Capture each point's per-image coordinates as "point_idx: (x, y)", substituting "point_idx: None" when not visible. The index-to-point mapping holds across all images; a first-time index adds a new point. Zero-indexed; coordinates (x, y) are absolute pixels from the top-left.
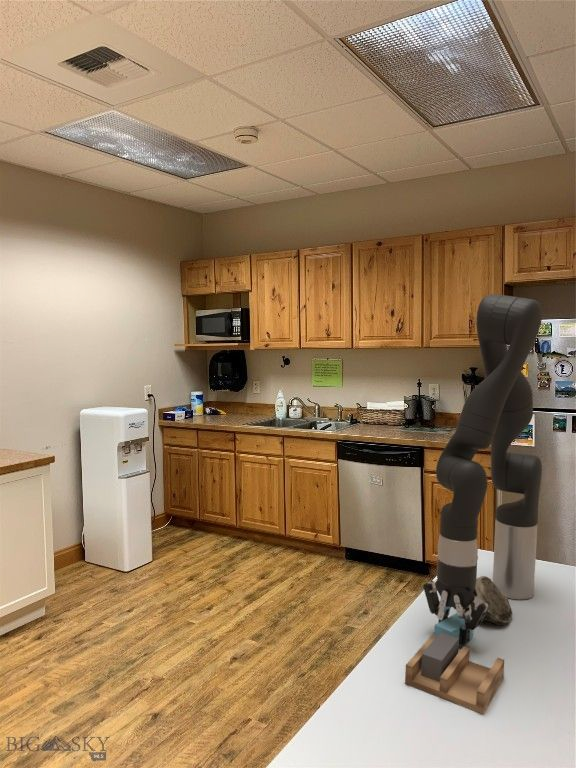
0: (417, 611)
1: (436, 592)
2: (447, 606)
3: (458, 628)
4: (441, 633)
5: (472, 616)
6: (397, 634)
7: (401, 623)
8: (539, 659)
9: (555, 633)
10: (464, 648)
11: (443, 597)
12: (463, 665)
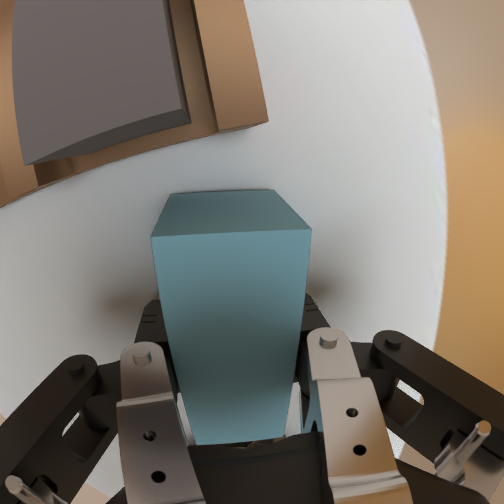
0: None
1: (429, 454)
2: (312, 431)
3: (166, 330)
4: (160, 99)
5: (255, 448)
6: (429, 167)
7: (443, 252)
8: (14, 388)
9: (96, 477)
10: (21, 167)
11: (375, 485)
12: None
